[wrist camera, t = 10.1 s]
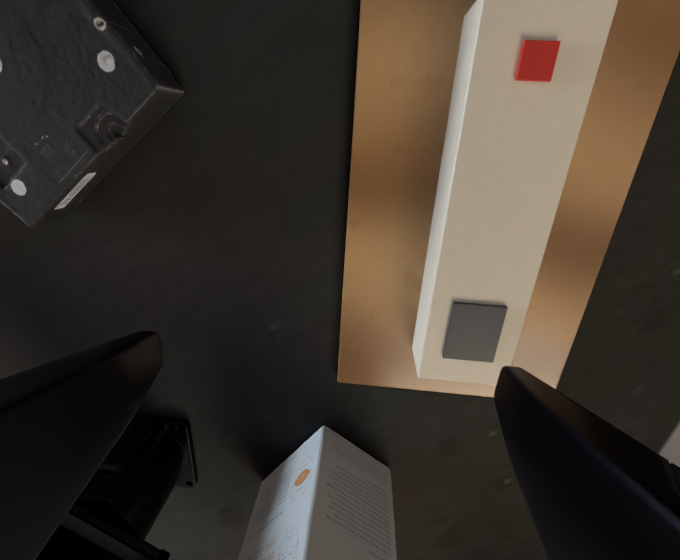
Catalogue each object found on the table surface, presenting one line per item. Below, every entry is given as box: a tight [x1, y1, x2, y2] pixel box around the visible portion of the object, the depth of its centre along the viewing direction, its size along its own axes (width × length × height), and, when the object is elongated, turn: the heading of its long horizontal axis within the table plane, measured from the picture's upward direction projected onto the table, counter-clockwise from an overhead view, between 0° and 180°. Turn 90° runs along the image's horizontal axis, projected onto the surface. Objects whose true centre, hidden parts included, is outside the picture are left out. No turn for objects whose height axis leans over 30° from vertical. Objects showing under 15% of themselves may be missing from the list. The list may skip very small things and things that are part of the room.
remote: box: [412, 0, 618, 385], centre depth 16 cm, size 16×4×3 cm, turn 177°
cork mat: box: [337, 0, 680, 397], centre depth 17 cm, size 22×13×1 cm, turn 177°
